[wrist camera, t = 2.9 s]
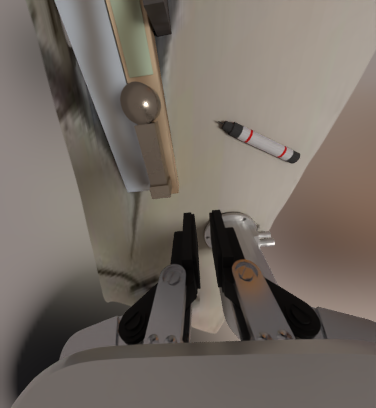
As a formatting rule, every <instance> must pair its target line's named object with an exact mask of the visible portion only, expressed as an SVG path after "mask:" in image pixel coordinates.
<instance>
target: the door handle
mask: <svg viewBox="0 0 376 408" xmlns="http://www.w3.org/2000/svg"><path fill="white" fill-rule="evenodd" d="M120 102H121V107H122V110H123V112H124V114H125V115H126V117H127V118H128V119H129V120H130V121H132V122H133V123H136V124H138V125H135V126H134V127H135V131H136V134H137V138H138V141H139V145H140V148H141V152H142V156H143V159H144V163H145V166H146V170H147V174H148V177H149V181H150V187H149V189H150V192H151V196H152V199H158V198H168V197H171V192H172V187H173V186H172V181H171V176H169V174H168V169H167V164H166V159H165V154H164V149H163V144H162V139H161V134H160V129H159V124H158V121H156V122H152V121H154V120H156V119H157V118H158V116H159V114H160V111H161V102H160V98H159V96H158V94H157V93H156V91H155V90H154V89H153V88H151V87H150V86H148V85H145V84H143V83H141V82H136V81H135V82H130V83H128V84H127V85H126V86H125V87H124V88H123V90H122V92H121V96H120Z"/></svg>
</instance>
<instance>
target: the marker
mask: <svg viewBox="0 0 376 408" xmlns="http://www.w3.org/2000/svg"><path fill="white" fill-rule="evenodd" d="M218 122H219V121H218ZM219 123H221V122H219ZM221 124H223V123H221ZM222 129H224V130H225V131H227V132H228V134H229V135H231V136H233V137H235V138H237V139H239V140H241V141H243V142H245V143H248V144H250V145H252V146H254V147H256V148H258V149H261V150H263V151H265V152H267V153H269V154H272V155H274V156H276V157H278V158H280V159H282V160H285V161H287V162H290V163H295V162H297V161H298V159H299V158H300V153H297V152H295V151H293V150H292V149H290V148H288V147H286V146H284V145H282V144H280V143H277V142H275V141H273V140H271V139H269V138H267V137H265V136H263V135H261V134H259V133H257V132H255V131H253V130H251V129H249V128H246V127H244V126H242V125H240V124H237V123H235V122H234V123H230V122H227V121H225V122H224V124H223V126H222Z"/></svg>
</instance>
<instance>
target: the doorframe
mask: <svg viewBox="0 0 376 408" xmlns="http://www.w3.org/2000/svg"><path fill="white" fill-rule="evenodd" d="M54 1H55V3H56V6H57V9H58V11H59V14H60V16H61V19H62V22H63V24H64V27H65V30H66V32H67V35H68V37H69V40H70V43H71V45H72V48H73V50H74V53H75V56H76V58H77V61H78V64H79V66H80V69H81V71H82V74H83V77H84V79H85V82H86V85H87V87H88V90H89V92H90V95H91V98H92V100H93V103H94V105H95V108H96V111H97V113H98V116H99V119H100V121H101V124H102V126H103V129H104V132H105V134H106V137H107V139H108V142H109V145H110V147H111V150H112V153H113V155H114V158H115V160H116V163H117V166H118V168H119V171H120V174H121V176H122V179H123V181H124V184H125V187H126V189H127V192H136V191H146V190H150V189H149V187H150V181H149V177H148V174H147V170H146V166H145V163H144V159H143V156H142V152H141V148H140V145H139V141H138V138H137V134H136V131H135V127H134V126H135V125H138V124H136V123H133V122H132V121H130V120H129V119H128V118H127V117H126V115H125V114H124V112H123V110H122V107H121V102H120V96H121V92H122V90H123V88H124V87H125V86H126V85H127V84H128V83H130V82H135V81H136V82H141V83H143V84H145V85H148V86H150V87H151V88H153V89H154V90H155V91H156V93H157V94H158V96H159V98H160V102H161V111H160V114H159V116H158V118H157V119H156V120H154V121H152V122H156V121H158V124H159V129H160V134H161V139H162V144H163V149H164V154H165V159H166V164H167V169H168V174H169V176H171V181H172V186H173V187H172V192H171V194H174V193H178V191H179V182H178V176H177V170H176V164H175V158H174V152H173V146H172V140H171V134H170V128H169V122H168V116H167V110H166V104H165V98H164V92H163V86H162V80H161V74H160V68H159V61H158V55H157V49H156V43H155V37H154V31H153V28H154V30H155V32H156V34H157V36H162V35H168V34H171V25H170V17H169V9H168V1H167V0H54Z"/></svg>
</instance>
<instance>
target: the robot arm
mask: <svg viewBox="0 0 376 408" xmlns="http://www.w3.org/2000/svg"><path fill="white" fill-rule="evenodd" d="M209 215H210V222H209V223H208V225H207V226H206V228H205V232H204V237H205V241H206V243H207V245H208V246H209V247H210V248H212V252H213V258H214V264H215V270H216V277H217V283H218V287H219V289H220V295H221V301H222V307H223V313H224V316H225V319H226V322H227V324H228V325H229V327H230V329H231V330H232V331H233V333H234V334H235V335H236V336H237V337H238V338H239V339H240V340H241V341H226V342H194V343H190V338H191V317H192V302H193V301H194V300H195V299H196V297H197V289H200V273H199V257H198V242H197V233H196V225H195V216H194V214H191V213H184V217H183V231H179V232H174V240H173V248H172V257H171V265H169V266H167V267H165V268H164V269H163V270H162V272H161V274H160V277H159V281H158V283H157V284H156V285H155V286H154V287H153V288H152V289H150V290H149V291H148V292H147V293H146V294H145V295H144V296H143V297H142V298H140V299H139V300H138V301H137V302H136V303H135V304H134V305H133V306H132V307H131V308H129V309H128V310H127V311H126V312H125V314H124V315H123V316H120V317H118V316H115V317H113V318H110V319H108V320H105V321H103V322H100V323H98V324H95V325H93V326H90V327H88V328H85V329H83V330H80V331H78V332H77V333H75V334H74V335H73V336H72V337H71V338H70V339H69V340H68V341H67V343H66V344H65V346H64V348H63V350H62V353H61V356H60V360H59V361H58V362H56V363H55V364H53V365H51V366H50V367H48V368H47V369H45V370H44V371H43V372H42V373H40V374H39V375H38V376H37V377H36V378H35V379H33V380H32V381H31V383H30V384H29V385H28V386H27V387H26V388H25V389H24V391H23V392H22V393H21V394H20V396H19V397H18V399H17V400H16V401H15V402H14V404H13V405H12V407H11V408H376V322H373V321H371V320H368V319H365V318H360V317H356V316H353V315H349V314H344V313H341V312H337V311H333V310H329V309H325V308H321V307H317V308H313V307H311V306H309V305H308V304H307V303H305V302H304V301H302V300H301V299H299V298H297V297H296V296H294V295H293V294H291V293H289V292H288V291H286V290H284V289H283V288H281V287H280V286H278V284H277V282H276V280H275V278H274V276H273V274H272V272H271V270H270V268H269V266H268V264H267V262H266V260H265V258H264V255H263V253H262V251H261V250H260V247H261V246H274V245H275V242H274V239H273V238H268V237H270V236H271V235H270V232H269V231H266V232H258V231H257V226H256V224H255V222H254V221H253V219H252V218H250V217H249V216H247V215H245V214H242V213H235V212H232V213H225V214H222V215H221V212H220V210H212V213H209ZM260 238H264V239H260Z"/></svg>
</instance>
